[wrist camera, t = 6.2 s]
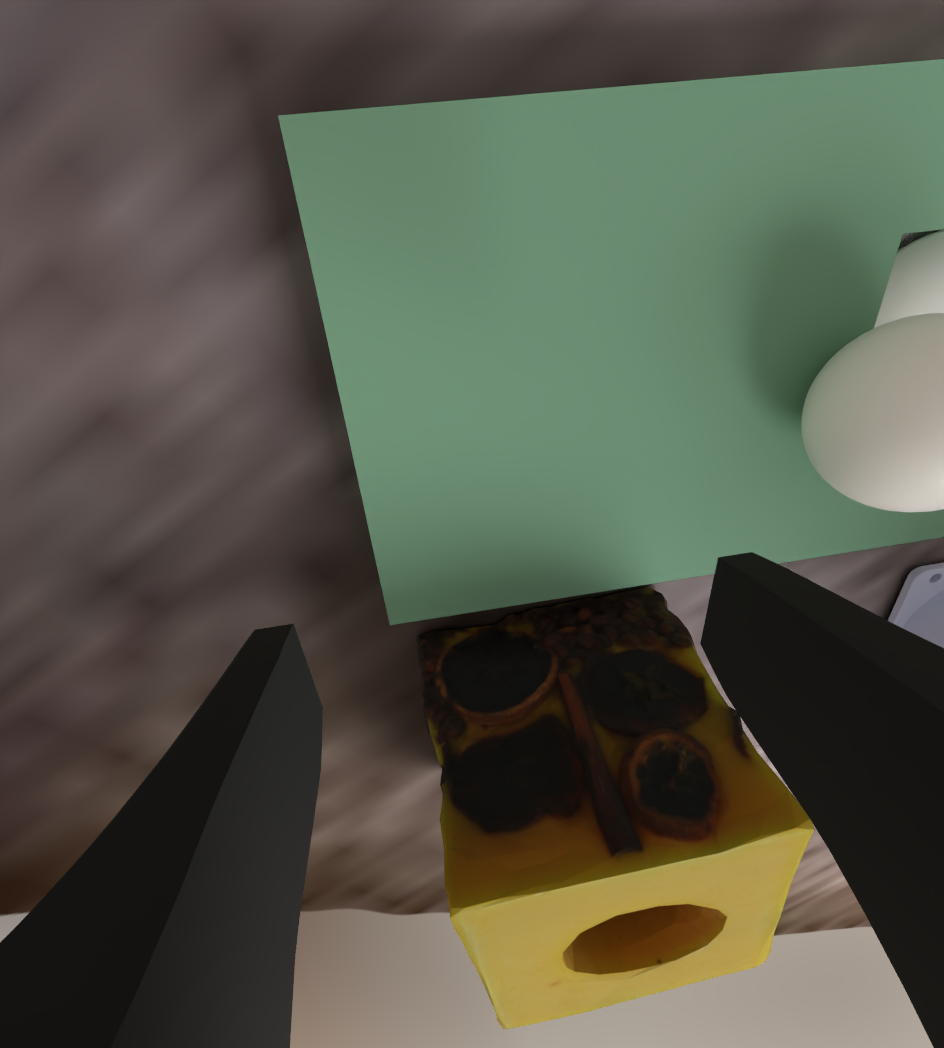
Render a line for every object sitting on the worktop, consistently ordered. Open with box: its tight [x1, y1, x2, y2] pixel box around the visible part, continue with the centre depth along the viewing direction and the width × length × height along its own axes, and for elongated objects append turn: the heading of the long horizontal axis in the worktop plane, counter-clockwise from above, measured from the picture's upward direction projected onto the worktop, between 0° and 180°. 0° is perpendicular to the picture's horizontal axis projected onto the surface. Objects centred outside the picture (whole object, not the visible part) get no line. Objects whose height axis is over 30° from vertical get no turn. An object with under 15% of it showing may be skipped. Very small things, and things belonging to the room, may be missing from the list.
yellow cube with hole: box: [416, 587, 815, 1029], centre depth 20 cm, size 10×10×10 cm
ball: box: [801, 313, 944, 512], centre depth 14 cm, size 5×5×5 cm
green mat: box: [278, 59, 944, 625], centre depth 17 cm, size 24×14×2 cm, turn 94°
